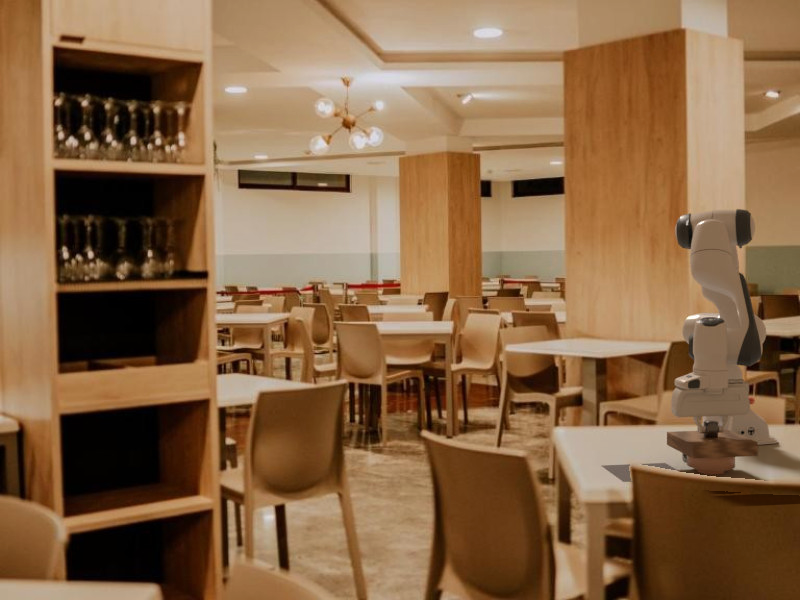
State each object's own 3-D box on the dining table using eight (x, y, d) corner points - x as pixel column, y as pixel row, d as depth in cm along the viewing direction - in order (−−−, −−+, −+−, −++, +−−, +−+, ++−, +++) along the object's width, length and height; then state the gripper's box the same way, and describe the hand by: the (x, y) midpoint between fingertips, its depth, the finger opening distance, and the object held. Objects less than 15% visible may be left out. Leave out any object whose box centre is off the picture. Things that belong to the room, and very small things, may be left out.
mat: (665, 464, 253) (665, 462, 253) (692, 480, 235) (692, 478, 235) (601, 467, 251) (600, 465, 251) (623, 483, 233) (623, 481, 233)
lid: (727, 442, 252) (727, 414, 251) (757, 455, 235) (757, 426, 235) (666, 444, 250) (666, 417, 250) (692, 458, 233) (692, 428, 233)
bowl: (722, 466, 249) (722, 441, 249) (743, 477, 238) (743, 450, 237) (679, 468, 248) (679, 442, 248) (698, 479, 236) (698, 452, 236)
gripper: (743, 377, 246) (743, 428, 247) (668, 379, 244) (668, 431, 245) (754, 380, 240) (754, 433, 240) (678, 383, 238) (678, 436, 238)
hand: (710, 432), depth 242 cm, fingers closed on lid, 4 cm apart
